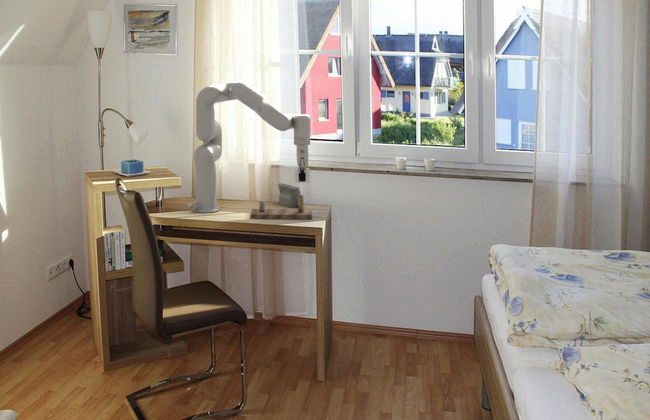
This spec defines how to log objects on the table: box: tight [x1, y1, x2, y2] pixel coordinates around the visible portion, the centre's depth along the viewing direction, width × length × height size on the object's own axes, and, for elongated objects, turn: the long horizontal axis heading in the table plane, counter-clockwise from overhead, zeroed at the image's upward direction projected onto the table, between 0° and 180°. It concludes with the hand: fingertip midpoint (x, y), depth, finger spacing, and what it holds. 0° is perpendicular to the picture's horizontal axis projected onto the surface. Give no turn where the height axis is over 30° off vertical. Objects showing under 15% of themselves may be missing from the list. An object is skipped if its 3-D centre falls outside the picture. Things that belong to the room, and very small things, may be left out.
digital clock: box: [277, 182, 302, 208], centre depth 373 cm, size 16×9×11 cm, turn 29°
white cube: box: [294, 167, 310, 184], centre depth 345 cm, size 6×6×6 cm
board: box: [250, 194, 313, 220], centre depth 348 cm, size 28×12×10 cm, turn 93°
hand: (301, 179), depth 346 cm, fingers closed on white cube, 6 cm apart
